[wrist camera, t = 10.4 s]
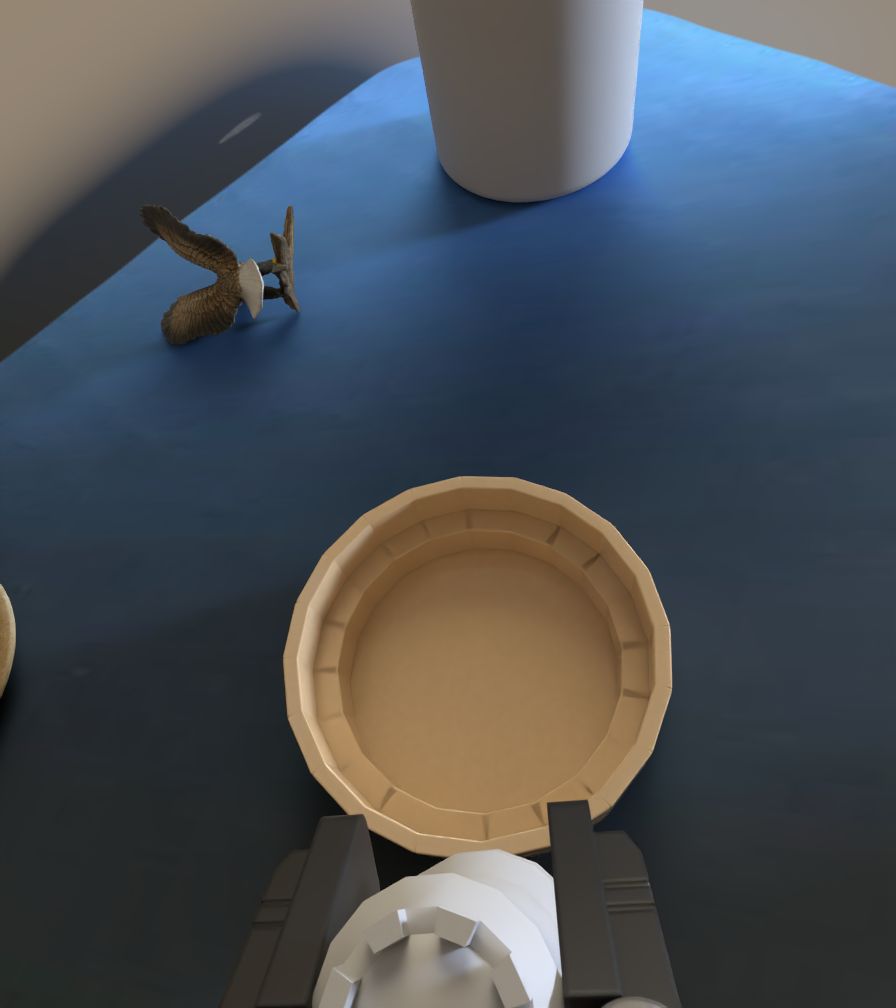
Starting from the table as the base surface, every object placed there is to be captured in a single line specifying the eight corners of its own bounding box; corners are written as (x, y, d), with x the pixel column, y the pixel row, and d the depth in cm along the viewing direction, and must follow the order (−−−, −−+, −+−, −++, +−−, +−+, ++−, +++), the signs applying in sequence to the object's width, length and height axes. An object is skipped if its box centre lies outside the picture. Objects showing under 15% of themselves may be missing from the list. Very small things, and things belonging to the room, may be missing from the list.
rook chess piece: (540, 1162, 13) (508, 1465, 6) (347, 1013, 15) (152, 1122, 8) (633, 922, 15) (692, 949, 8) (451, 811, 16) (365, 752, 9)
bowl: (653, 531, 32) (666, 480, 28) (661, 887, 25) (679, 887, 21) (352, 519, 34) (324, 471, 30) (288, 839, 28) (242, 831, 24)
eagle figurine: (305, 228, 43) (158, 225, 43) (283, 184, 36) (105, 179, 36) (306, 353, 44) (160, 351, 43) (283, 334, 37) (109, 331, 36)
